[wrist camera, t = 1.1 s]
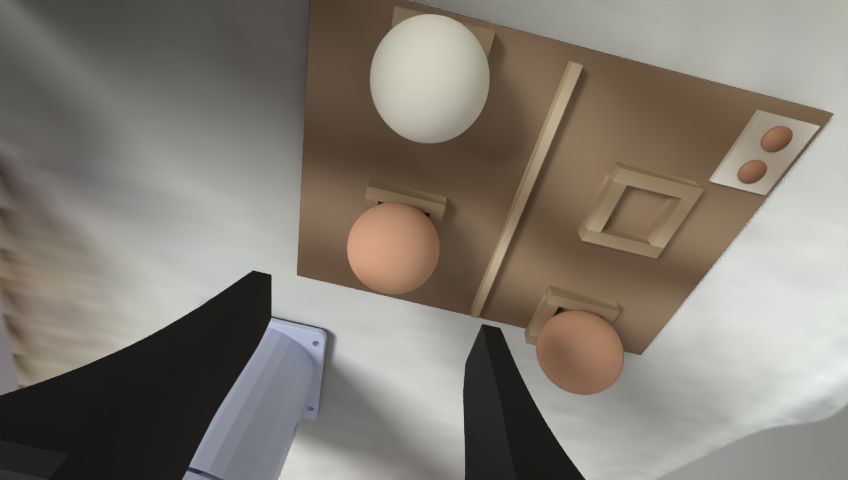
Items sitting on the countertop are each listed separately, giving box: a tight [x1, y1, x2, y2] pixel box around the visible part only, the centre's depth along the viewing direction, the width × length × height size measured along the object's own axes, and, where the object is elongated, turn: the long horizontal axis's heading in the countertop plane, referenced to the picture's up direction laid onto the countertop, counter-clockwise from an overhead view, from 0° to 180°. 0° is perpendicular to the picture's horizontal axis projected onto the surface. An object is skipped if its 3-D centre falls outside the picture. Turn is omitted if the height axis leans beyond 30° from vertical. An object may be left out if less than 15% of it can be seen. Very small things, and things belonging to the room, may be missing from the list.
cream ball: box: [370, 14, 490, 143], centre depth 13 cm, size 4×4×4 cm
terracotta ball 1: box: [347, 202, 440, 294], centre depth 17 cm, size 4×4×4 cm
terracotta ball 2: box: [536, 310, 624, 395], centre depth 19 cm, size 4×4×4 cm
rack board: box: [297, 0, 833, 355], centre depth 18 cm, size 14×20×1 cm
